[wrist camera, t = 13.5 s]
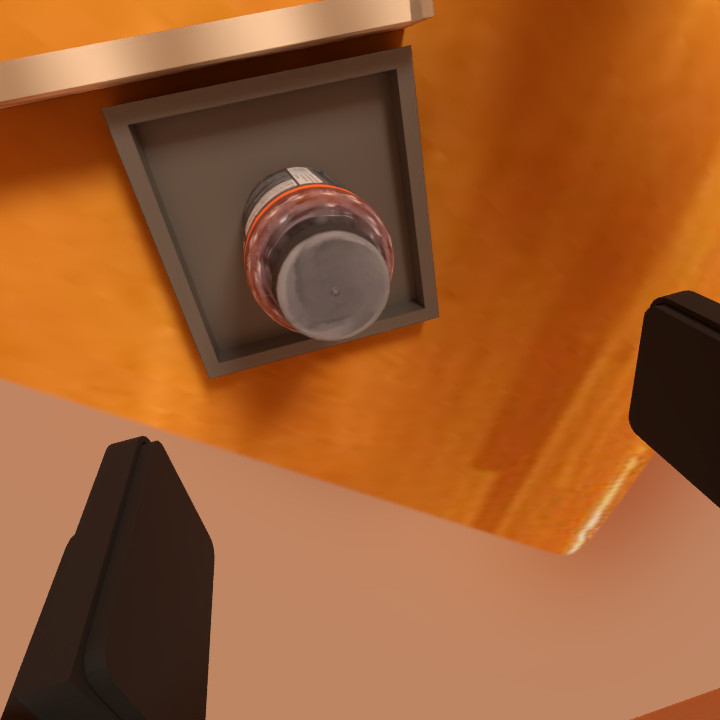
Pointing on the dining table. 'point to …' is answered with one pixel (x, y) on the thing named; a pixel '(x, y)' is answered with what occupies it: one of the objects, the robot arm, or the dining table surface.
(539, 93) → the dining table surface
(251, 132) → the tray
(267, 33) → the bay
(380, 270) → the supplement bottle
